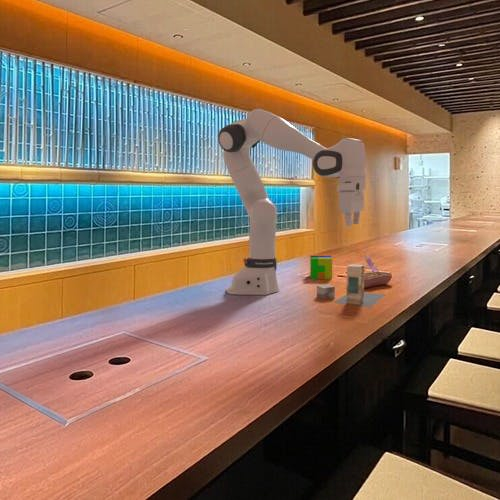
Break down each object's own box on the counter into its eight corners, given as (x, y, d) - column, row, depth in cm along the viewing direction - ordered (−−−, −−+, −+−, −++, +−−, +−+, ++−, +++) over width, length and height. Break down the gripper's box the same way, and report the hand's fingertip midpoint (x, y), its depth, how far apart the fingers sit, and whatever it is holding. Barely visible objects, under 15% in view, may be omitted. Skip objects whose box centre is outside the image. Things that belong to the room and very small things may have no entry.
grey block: (323, 300, 181) (324, 288, 180) (316, 298, 186) (316, 285, 185) (334, 299, 183) (334, 286, 183) (327, 296, 188) (327, 284, 187)
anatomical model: (361, 291, 197) (361, 280, 196) (344, 287, 205) (344, 276, 204) (396, 285, 210) (396, 274, 209) (378, 281, 218) (378, 271, 217)
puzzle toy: (330, 275, 234) (330, 255, 233) (332, 279, 224) (332, 258, 223) (310, 275, 235) (310, 255, 234) (311, 279, 225) (311, 258, 224)
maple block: (359, 304, 173) (360, 267, 171) (346, 302, 175) (346, 266, 173) (363, 301, 177) (364, 264, 175) (350, 300, 180) (351, 264, 178)
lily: (363, 279, 229) (373, 262, 226) (349, 266, 239) (359, 250, 236) (378, 283, 236) (389, 268, 233) (365, 271, 245) (375, 256, 242)
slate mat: (370, 307, 169) (370, 306, 169) (333, 303, 176) (333, 302, 176) (385, 295, 188) (385, 294, 188) (351, 292, 195) (351, 291, 195)
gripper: (351, 185, 174) (351, 222, 176) (335, 185, 156) (335, 227, 158) (368, 185, 171) (368, 222, 173) (354, 185, 153) (354, 227, 155)
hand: (352, 225), depth 165 cm, fingers open, 8 cm apart
